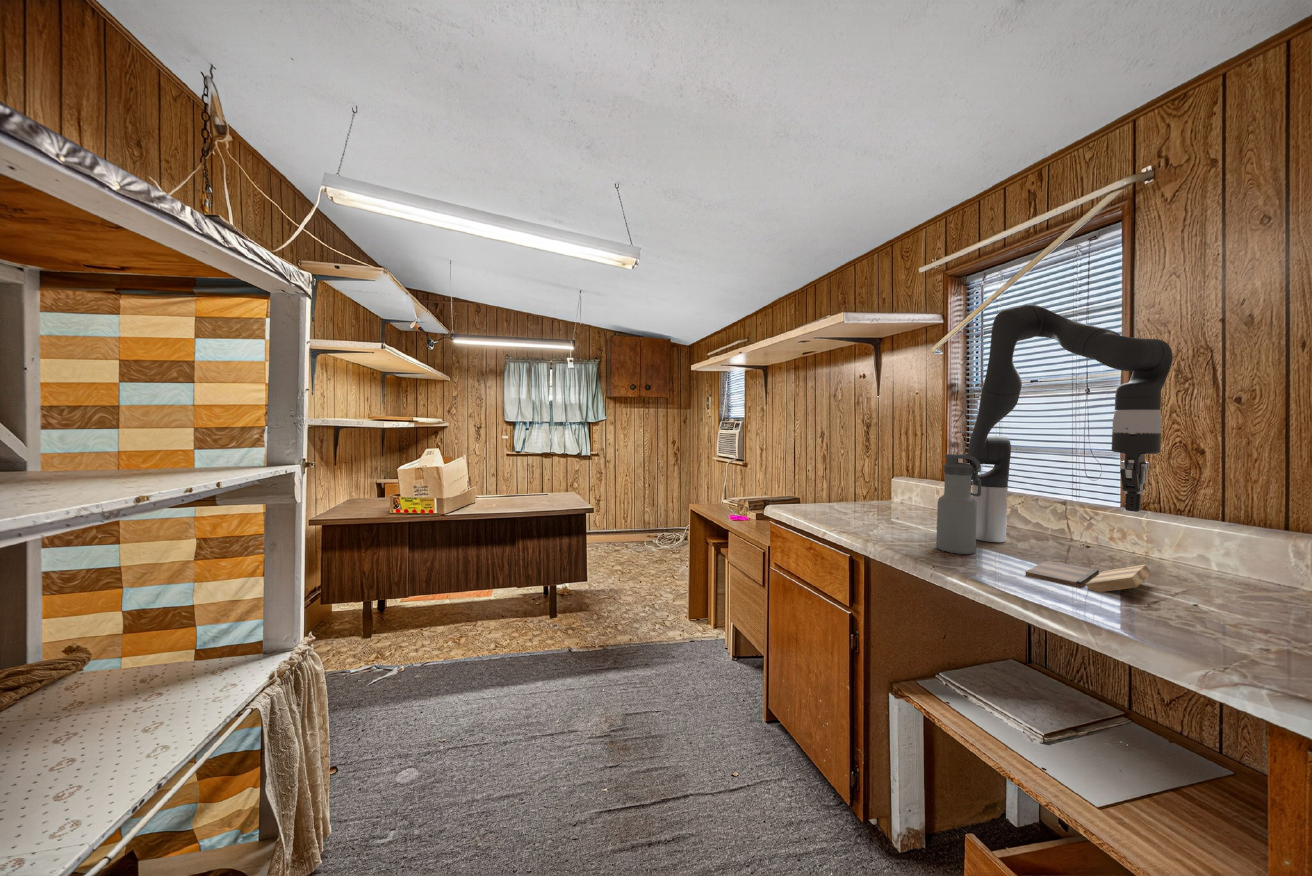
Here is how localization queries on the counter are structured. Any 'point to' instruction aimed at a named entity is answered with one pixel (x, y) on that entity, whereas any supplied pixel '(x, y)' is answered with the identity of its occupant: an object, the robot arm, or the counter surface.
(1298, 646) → the counter surface
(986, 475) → the robot arm
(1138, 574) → the oak plank
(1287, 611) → the counter surface
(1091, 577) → the walnut board
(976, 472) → the water bottle
